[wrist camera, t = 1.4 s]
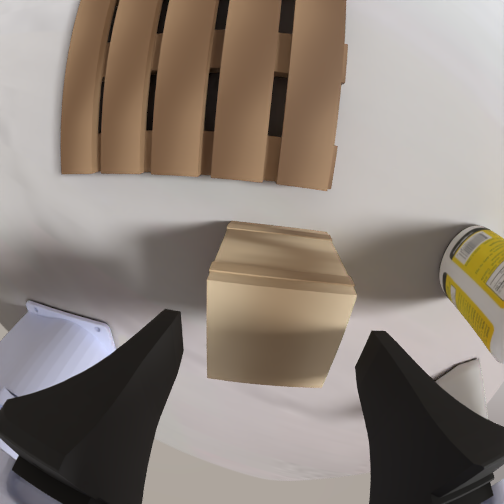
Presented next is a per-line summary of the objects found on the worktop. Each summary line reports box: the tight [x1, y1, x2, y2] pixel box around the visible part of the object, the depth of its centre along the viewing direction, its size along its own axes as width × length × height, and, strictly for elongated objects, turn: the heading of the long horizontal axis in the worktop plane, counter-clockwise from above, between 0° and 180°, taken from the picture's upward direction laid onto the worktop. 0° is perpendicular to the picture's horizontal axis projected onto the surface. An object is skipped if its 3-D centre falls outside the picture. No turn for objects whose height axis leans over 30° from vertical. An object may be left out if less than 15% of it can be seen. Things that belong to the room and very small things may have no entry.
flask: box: [435, 359, 488, 419], centre depth 15 cm, size 7×7×10 cm
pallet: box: [61, 0, 348, 191], centre depth 10 cm, size 14×12×2 cm
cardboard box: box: [207, 221, 357, 388], centre depth 13 cm, size 5×5×6 cm
